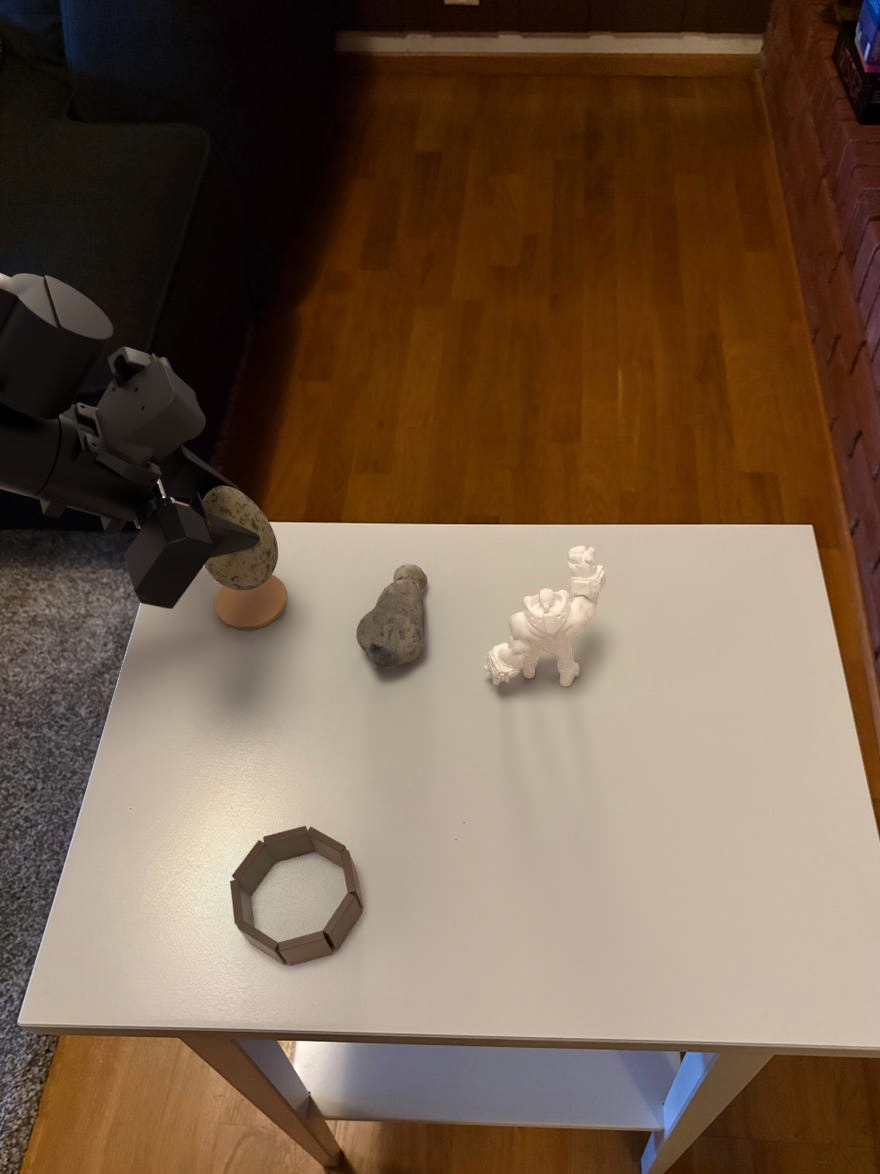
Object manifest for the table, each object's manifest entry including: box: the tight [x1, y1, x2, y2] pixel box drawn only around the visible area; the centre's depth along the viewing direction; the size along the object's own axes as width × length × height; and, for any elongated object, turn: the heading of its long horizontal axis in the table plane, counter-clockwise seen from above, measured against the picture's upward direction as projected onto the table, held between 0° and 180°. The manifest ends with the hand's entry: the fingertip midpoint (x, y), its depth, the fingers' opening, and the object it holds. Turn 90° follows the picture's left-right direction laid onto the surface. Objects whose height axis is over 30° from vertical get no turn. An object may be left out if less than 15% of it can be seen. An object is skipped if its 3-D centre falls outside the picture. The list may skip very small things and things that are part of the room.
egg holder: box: [229, 825, 364, 966], centre depth 64 cm, size 8×8×4 cm
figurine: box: [483, 545, 607, 688], centre depth 71 cm, size 10×5×12 cm, turn 120°
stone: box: [355, 563, 428, 669], centre depth 77 cm, size 10×6×8 cm
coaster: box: [214, 574, 288, 631], centre depth 81 cm, size 6×6×1 cm
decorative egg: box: [202, 486, 279, 590], centre depth 70 cm, size 6×6×10 cm
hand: (247, 517), depth 69 cm, fingers closed on decorative egg, 5 cm apart
